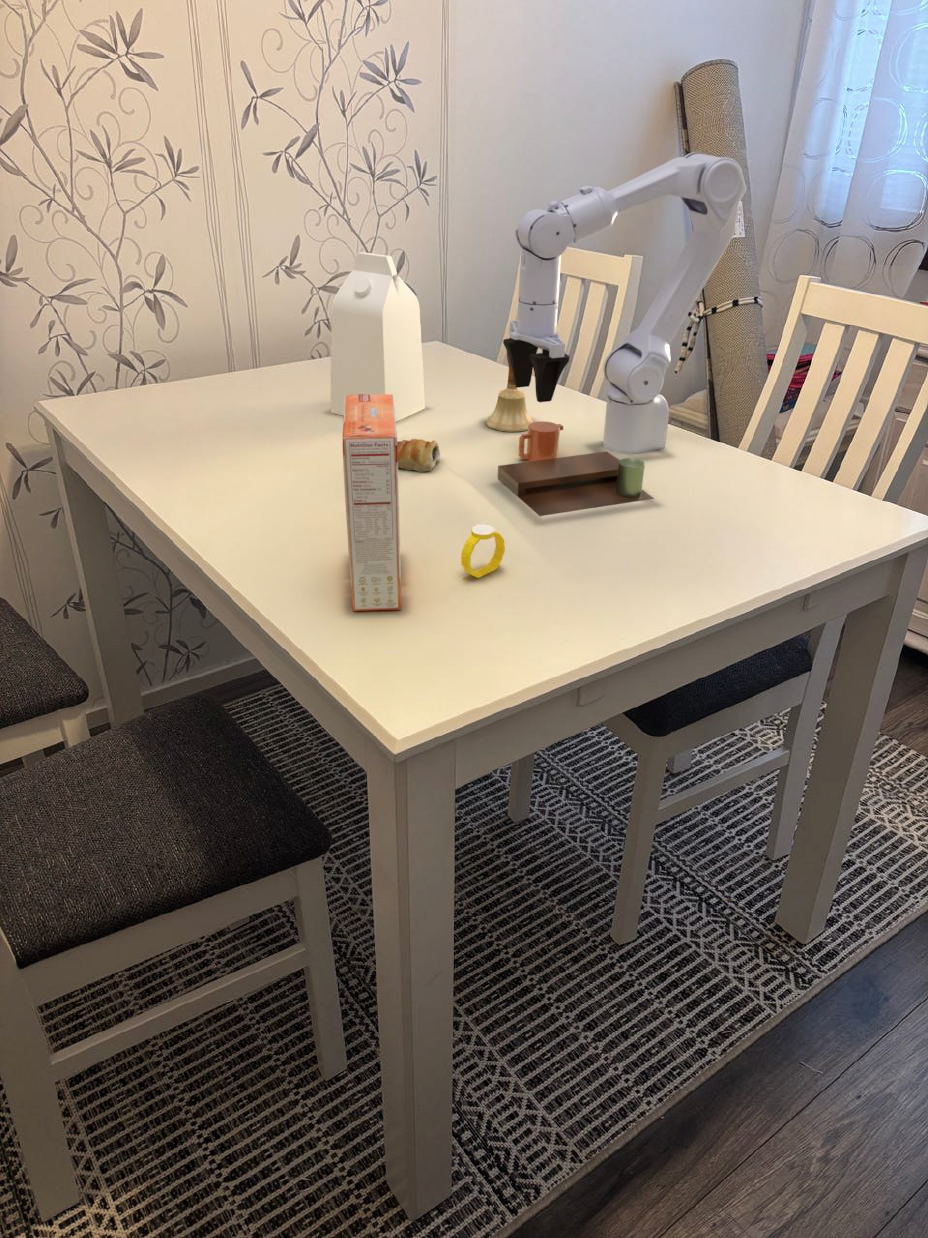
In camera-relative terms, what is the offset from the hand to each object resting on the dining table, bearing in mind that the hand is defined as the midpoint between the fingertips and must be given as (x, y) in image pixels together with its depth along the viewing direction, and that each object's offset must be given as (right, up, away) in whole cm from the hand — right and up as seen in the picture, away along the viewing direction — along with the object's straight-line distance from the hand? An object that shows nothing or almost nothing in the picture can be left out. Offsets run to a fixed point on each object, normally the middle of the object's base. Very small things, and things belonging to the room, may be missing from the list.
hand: (532, 393), depth 146 cm
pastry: (-18, -10, +2) cm, 21 cm away
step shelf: (+5, -16, -7) cm, 18 cm away
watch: (-8, -29, -28) cm, 41 cm away
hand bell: (-3, -1, +19) cm, 20 cm away
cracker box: (-21, -30, -31) cm, 48 cm away
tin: (+13, -16, -8) cm, 22 cm away
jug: (+2, -10, +3) cm, 11 cm away
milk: (-25, +2, +24) cm, 35 cm away
